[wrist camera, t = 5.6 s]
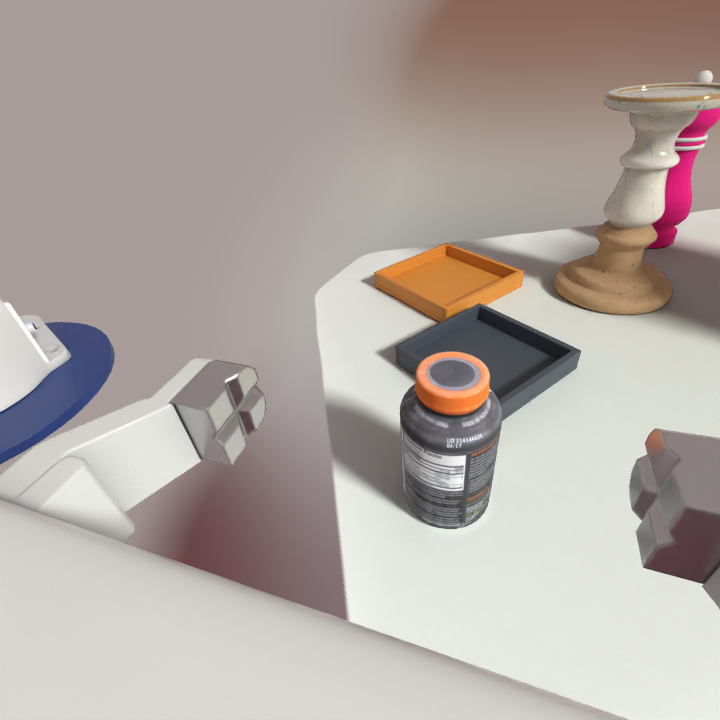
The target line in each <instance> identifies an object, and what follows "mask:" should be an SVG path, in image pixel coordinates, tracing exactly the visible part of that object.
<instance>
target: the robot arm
mask: <svg viewBox="0 0 720 720" xmlns="http://www.w3.org/2000/svg"><path fill="white" fill-rule="evenodd" d="M70 357H71V353H70V352H69V351H68V350H67V349H66V347H65V346H64V345H63V344H62V343H61V342H60V340H59V339H58V338H57V337H56V336H55V335H54V334H53V332H52V331H51V330H50V329H49V328H48V327H47V326H46V324H45V323H44V322H43V321H42V320H41V319H40V318H39V317H38V316H37V315H29V316H21V317H19V316H18V315H17V313H16V312H15V310H14V309H13V307H12V306H11V304H10V303H7V302H6V301H5V300H4V298H3V297H2V295H1V294H0V412H1V411H3V410H5V409H6V408H8V407H10V406H11V405H13V404H15V403H16V402H18V401H19V400H21V399H22V398H23V397H25V396H26V395H27V394H29V393H30V392H31V391H32V390H33V389H35V388H36V387H37V386H38V385H39V384H40V383H41V382H42V380H43V379H44V378H45V377H46V376H47V375H48V374H49V373H50V372H52V371H53V370H55V369H56V368H58V367H59V366H61V365H62V364H63V363H65V362H66V361H67V360H69V359H70ZM258 380H259V378H258V375H257V372H256V370H255V368H253V367H251V366H247V365H242V364H236V363H231V362H225V361H220V360H211V359H206V358H201V357H198V358H194V359H191V361H189V362H188V363H187V364H186V365H185V366H184V367H183V368H182V369H181V370H180V371H179V372H178V373H177V374H176V375H174V376H173V377H172V378H171V379H170V380H169V381H168V382H167V383H166V384H165V385H164V386H163V387H162V388H161V389H160V390H158V391H157V392H156V393H155V394H154V395H153V396H152V397H151V398H150V399H141V400H139V401H137V402H134V403H132V404H130V405H127V406H125V407H123V408H120V409H118V410H116V411H113V412H111V413H109V414H106V415H104V416H101V417H100V418H97V419H95V420H92V421H90V422H88V423H85V424H83V425H80V426H78V427H76V428H74V429H71V430H69V431H66V432H64V433H62V434H59V435H57V436H55V437H52V438H50V439H48V440H46V441H43V442H41V443H38V444H36V445H35V446H34V447H33V448H31V449H30V450H29V451H28V452H27V453H25V454H24V455H23V456H22V457H21V458H19V459H18V460H17V461H16V462H15V463H13V464H12V465H11V466H10V467H9V468H7V469H6V470H5V471H4V472H2V473H1V474H0V720H629V719H626V718H623V717H620V716H617V715H615V714H612V713H609V712H606V711H603V710H600V709H597V708H595V707H592V706H589V705H586V704H583V703H580V702H577V701H575V700H572V699H569V698H566V697H563V696H560V695H557V694H555V693H552V692H549V691H546V690H543V689H540V688H537V687H535V686H532V685H529V684H526V683H523V682H520V681H518V680H515V679H512V678H509V677H506V676H503V675H500V674H498V673H495V672H492V671H489V670H486V669H483V668H480V667H478V666H475V665H472V664H469V663H466V662H463V661H460V660H458V659H455V658H452V657H449V656H446V655H443V654H440V653H438V652H435V651H432V650H429V649H426V648H423V647H420V646H418V645H415V644H412V643H409V642H406V641H403V640H400V639H398V638H395V637H392V636H389V635H386V634H383V633H381V632H378V631H375V630H372V629H369V628H366V627H363V626H361V625H358V624H355V623H352V622H349V621H346V620H343V619H340V618H338V617H335V616H332V615H329V614H326V613H323V612H321V611H318V610H314V609H312V608H309V607H306V606H303V605H301V604H297V603H295V602H292V601H289V600H286V599H283V598H281V597H278V596H275V595H272V594H269V593H266V592H263V591H261V590H258V589H255V588H252V587H249V586H246V585H243V584H241V583H238V582H235V581H232V580H229V579H226V578H224V577H221V576H218V575H215V574H212V573H209V572H206V571H203V570H201V569H198V568H195V567H192V566H189V565H186V564H183V563H181V562H178V561H175V560H172V559H169V558H166V557H163V556H160V555H158V554H155V553H152V552H149V551H146V550H143V549H140V548H138V547H135V546H132V545H129V544H126V541H127V540H128V539H129V537H130V536H131V535H132V534H133V532H134V531H135V524H134V523H133V522H132V521H131V519H130V518H129V517H128V515H127V514H126V513H125V512H126V511H128V510H129V509H131V508H132V507H134V506H135V505H137V504H138V503H140V502H141V501H143V500H144V499H146V498H147V497H149V496H150V495H152V494H153V493H155V492H156V491H158V490H159V489H160V488H162V487H164V486H165V485H166V484H168V483H169V482H171V481H172V480H174V479H175V478H177V477H178V476H180V475H181V474H183V473H184V472H186V471H187V470H189V469H190V468H192V467H193V466H195V465H196V464H198V463H199V462H201V460H200V459H202V460H206V461H211V462H216V463H220V464H225V465H230V466H232V464H233V463H234V462H235V460H236V459H237V457H238V456H239V455H240V453H241V452H242V450H243V449H244V447H245V446H246V445H247V442H246V436H247V435H249V434H251V433H253V432H255V431H257V429H258V428H259V426H260V425H261V423H262V421H263V418H264V415H265V411H266V400H265V397H264V394H263V392H261V390H260V389H259V388H258V387H257V386H256V384H257V382H258ZM645 446H646V450H647V454H648V455H645V456H643V457H641V458H639V459H637V460H636V463H635V465H634V467H633V470H632V473H631V479H630V485H629V488H630V501H631V507H632V510H633V511H634V512H635V514H636V515H637V516H638V517H639V518H640V519H641V520H642V522H641V524H640V526H639V527H638V529H637V531H636V534H637V539H638V545H639V550H640V555H641V560H642V565H643V568H646V569H650V570H654V571H657V572H661V573H665V574H668V575H672V576H676V577H680V578H683V579H687V580H691V581H694V582H698V583H702V584H703V586H702V587H703V588H704V589H705V591H706V592H707V593H708V594H709V596H710V597H711V598H712V600H713V601H714V602H715V603H716V605H717V606H718V607H719V609H720V438H717V437H710V436H703V435H696V434H689V433H683V432H676V431H669V430H662V429H656V428H655V429H654V430H653V431H652V432H651V433H650V434H649V436H648V438H647V440H646V442H645Z"/></svg>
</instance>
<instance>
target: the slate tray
mask: <svg viewBox="0 0 720 720" xmlns="http://www.w3.org/2000/svg"><path fill="white" fill-rule="evenodd" d="M441 352H461V353H466V354H469V355H472V356H474V357H476V358H478V359H479V360H481V361H482V362H483V363H484V364H485V365H486V367H487V368H488V370H489V374H490V381H489V389H490V390H491V391H492V392H493V393H494V394H495V396H496V397H497V399H498V401H499V403H500V406H501V409H502V421H503V420H504V419H505V418H507V417H508V416H510V415H511V414H512V413H514V412H515V411H517V410H518V409H519V408H521V407H522V406H524V405H525V404H527V403H528V402H529V401H531V400H532V399H534V398H535V397H536V396H538V395H539V394H541V393H542V392H543V391H545V390H546V389H548V388H549V387H551V386H552V385H553V384H555V383H556V382H558V381H559V380H560V379H562V378H563V377H565V376H566V375H568V374H569V373H570V372H572V371H573V370H575V369H576V367H577V363H578V360H579V357H580V353H581V350H579V349H576V348H575V347H572V346H570V345H568V344H566V343H564V342H562V341H560V340H557V339H555V338H553V337H551V336H549V335H547V334H545V333H543V332H540V331H538V330H536V329H534V328H532V327H530V326H528V325H525V324H523V323H521V322H519V321H517V320H515V319H513V318H510V317H508V316H506V315H504V314H502V313H500V312H498V311H495V310H493V309H491V308H489V307H487V306H485V305H483V304H480V303H478V304H476V305H474V306H472V307H470V308H469V309H467V310H465V311H463V312H461V313H459V314H457V315H455V316H453V317H451V318H449V319H447V320H445V321H443V322H441V323H439V324H437V325H435V326H433V327H431V328H429V329H427V330H425V331H424V332H422V333H420V334H418V335H416V336H414V337H412V338H410V339H408V340H406V341H404V342H402V343H400V344H398V345H396V363H398V364H399V365H401V366H402V367H403V368H405V369H406V370H408V371H409V372H410V373H412V374H413V375H414V376H416V370H417V368H418V366H419V364H420V363H421V362H422V361H423V360H424V359H425V358H427V357H429V356H431V355H433V354H436V353H441Z"/></svg>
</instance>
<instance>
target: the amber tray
mask: <svg viewBox="0 0 720 720" xmlns="http://www.w3.org/2000/svg"><path fill="white" fill-rule="evenodd" d="M374 276H375V286H376V287H377V288H379V289H381V290H383V291H385V292H386V293H388V294H390V295H392V296H394V297H395V298H397V299H399V300H401V301H403V302H404V303H406V304H408V305H410V306H412V307H413V308H415V309H417V310H419V311H421V312H422V313H424V314H426V315H428V316H430V317H431V318H433V319H435V320H437V321H439V322H440V323H441V322H443V321H445V320H447V319H449V318H451V317H453V316H455V315H457V314H459V313H461V312H463V311H465V310H467V309H469V308H470V307H472V306H474V305H476V304H478V303H480V304H483V305H487V304H488V303H490V302H492V301H494V300H496V299H498V298H500V297H502V296H504V295H506V294H508V293H510V292H512V291H514V290H515V289H517V288H519V287H521V286H522V281H523V276H524V271H522V270H520V269H517V268H514V267H511V266H509V265H506V264H503V263H501V262H498V261H495V260H492V259H490V258H487V257H484V256H481V255H479V254H476V253H473V252H470V251H468V250H465V249H462V248H460V247H457V246H454V245H451V244H448V243H445V244H443V245H440V246H438V247H435V248H433V249H430V250H428V251H425V252H423V253H421V254H418V255H416V256H413V257H411V258H408V259H406V260H403V261H401V262H398V263H396V264H393V265H391V266H388V267H386V268H383V269H381V270H378V271H376V272H374Z"/></svg>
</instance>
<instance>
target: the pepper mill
mask: <svg viewBox="0 0 720 720" xmlns="http://www.w3.org/2000/svg"><path fill="white" fill-rule="evenodd" d="M712 78H713V75H712V73H711V72H710V71H702V72H700V73H699V74H697V75H696V76H695V78H694V80H693V83H711V81H712ZM719 119H720V108H718V109H712V110H704V111H700V113H699V114H698V116H697V117H696V119H695V120H694V121H693V122H692V123H691V124H690V125H689V126H687V127H685V128H684V129H683V130H682V131H681V133H680V134H679V136H678V137H677V139H676V142H675V152H676V153H677V154H678V155H679V158H680V161H679V162H678V164H677V165H675V166H674V167H672V168H669V170H668V174H667V179H666V186H665V210H664V213H663V215H662V216H661V218H660V219H659V220H657V221H656V222H654V223H652V224H651V225H652V226H653V227H654V230H655V231H656V232H657V239H656V240H655V241H654V242H653V243H652V244H650V245H649V246H647V247H646V248H662V247H667V246H669V245H671V244H672V243H673V241H674V239H675V236H676V234H677V229H676V228H675V227H674V226H676V225H678V224H679V223H681V222H682V221H683V220H685V219H686V218H687V216H688V215H689V212H690V208H691V204H692V190H691V171H692V167H693V163H694V159H695V157H696V155H697V153H698V150H699V149H701V148H703V147H704V146H705V143H704V142H705V139H707V137H708V135H707V134H706V131H707V130H708V129H709V128H711V127H712V126H713V125H715V123H717V122H718V120H719Z"/></svg>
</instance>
